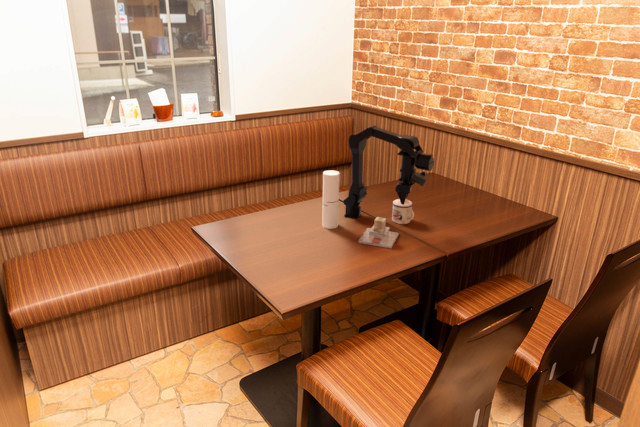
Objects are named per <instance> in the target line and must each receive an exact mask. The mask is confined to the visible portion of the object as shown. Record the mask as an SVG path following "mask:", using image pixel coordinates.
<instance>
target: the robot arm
mask: <svg viewBox="0 0 640 427" xmlns="http://www.w3.org/2000/svg"><path fill="white" fill-rule="evenodd" d="M372 137H373V138H376V139H378V140H381V141H383V142H387V143H390V144H393V145H395V146H396V147H397V148H398V149H399V150H400V151H399V152H397V154H396V155H397V156H401V162H400V163H401V165H400V169H399V173H400V175H399V179H398V182H397V184H396V185H395V190H394V191H395V192H396V193H397V196H398V199H400V202H401V204H403V205H404V203H405V199H407V198H408V196H409V194H410V193H411V191H412V188H413V187H412V186H413V185H414V184H415V183H416V184H418V185H419V186H420V187H424V186H425V184H426V182H427V180H428V176H427V175H426V174H427V172H426V171H428V172H431V171H432V170H433V168H434V165H435V160H434V157H433V156H434V155H433V153H424V150H423V148H422V147H421V144H420V141H419V138H418V137H417V136H415V135H408V134H398V133H395V132H392V131H389V130H387V129H384V128H380V127H378V126H376V125H370V126H368V127H366V128H364V130H362V131H359V132H356V133H353V134H351V135H350V136H348V139H347V140H348V141H347V142H348V148H349V149H350V153H351V184H350V187H349V190H348V196H347V197H346V198H345V199H344V200H342V201H343V204H344V206H345V214H344V217H345V218H351V219H358V218H359V217H360V216H361V214H362V206H361V202H362V201H363V200H364V199H365V198H366V196H367V195H368V193H367V190H368V186H366V185H364V182H363V173H364V172H363V169H364V167H363V161H364V160H363V156H364V155H363V154H364V151H365V149H366V146H367V145H366V144H367V140H368V139H370V138H372ZM417 169H418V170H422V171H421V172H417Z"/></svg>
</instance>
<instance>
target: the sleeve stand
mask: <svg viewBox="0 0 640 427" xmlns="http://www.w3.org/2000/svg"><path fill="white" fill-rule="evenodd" d="M398 237H399V232H396V231H391V230H390V226H385V231H384V232H379V231H374V224H373V225H372V226H371V227H367V228H366V229H365V231H364V232H363V234H362V235H361V236H360V237H359V239H358V243H359V244H363V245H370V246H373V247H374V246H375V247H378V248H379V247H380V248H386V249H392V248H393V246H394V244H395V242H396V240H397V239H398Z"/></svg>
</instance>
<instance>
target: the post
mask: <svg viewBox="0 0 640 427" xmlns="http://www.w3.org/2000/svg"><path fill="white" fill-rule="evenodd" d="M373 223H374V224H373V225H374V231H379V232H384V231H385V227H387V226H386V223H387V217H381V216H376V218H375V219H374V222H373Z"/></svg>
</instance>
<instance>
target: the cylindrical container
mask: <svg viewBox="0 0 640 427" xmlns="http://www.w3.org/2000/svg"><path fill="white" fill-rule="evenodd" d="M340 175H341V174H340V172H339V171H337V170H335V169H334V170H331V169H330V170H329V169H328V170H324V171H323V172H322V209H321V210H322V211H321V212H322V213H321V215H322V216H321V217H322V218H321V219H322V220H321V225H322V227H323V228H324V229H328V230H329V229H330V230H332V229H336V228H338V226H339V204H340V202H339V201H340V198H339V196H340Z"/></svg>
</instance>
